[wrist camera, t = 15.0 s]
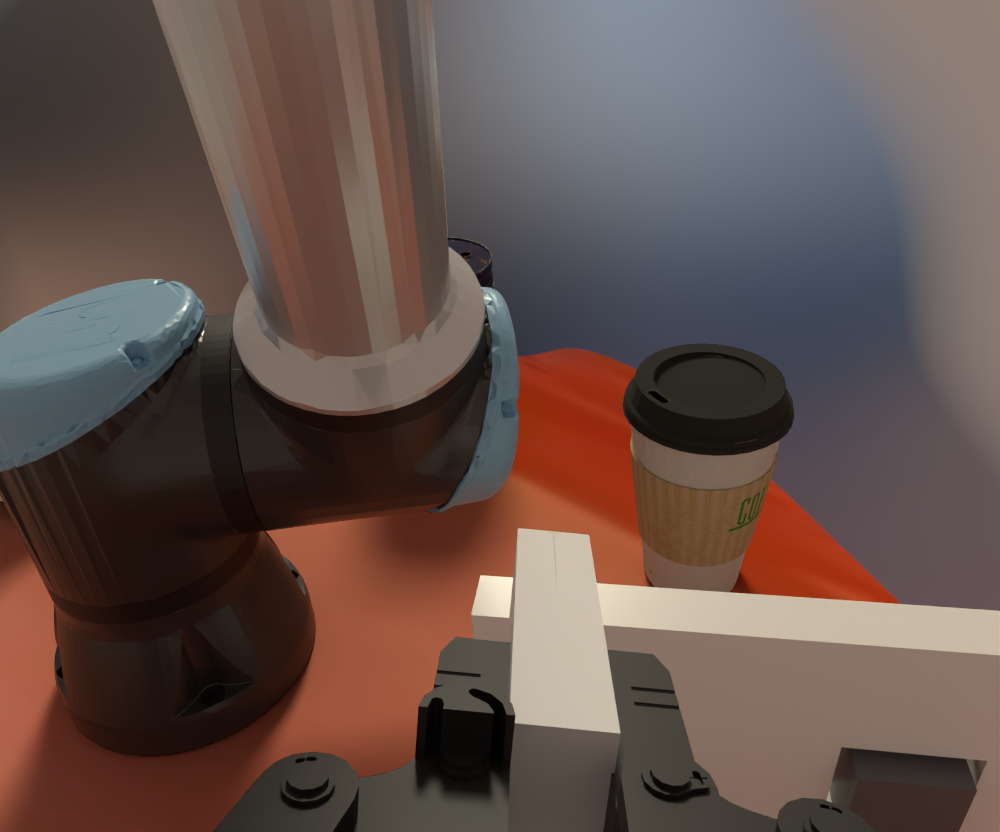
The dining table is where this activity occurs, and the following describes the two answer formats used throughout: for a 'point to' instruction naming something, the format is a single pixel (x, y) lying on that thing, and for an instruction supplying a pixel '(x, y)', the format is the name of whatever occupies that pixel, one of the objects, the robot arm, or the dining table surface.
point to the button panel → (807, 683)
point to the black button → (903, 790)
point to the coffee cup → (702, 458)
